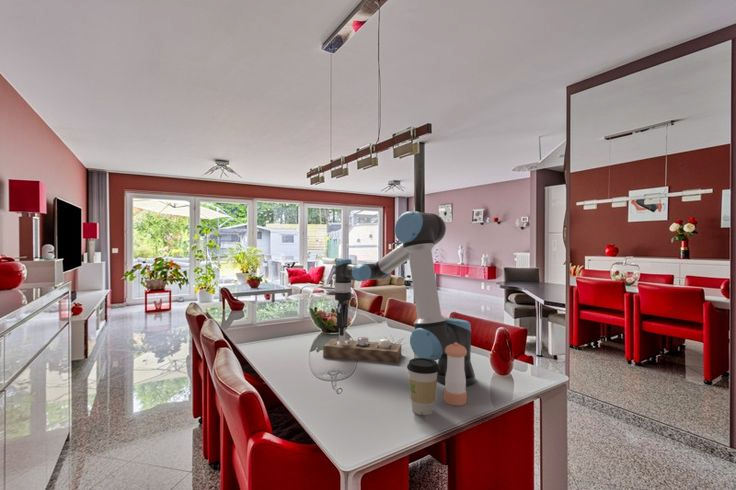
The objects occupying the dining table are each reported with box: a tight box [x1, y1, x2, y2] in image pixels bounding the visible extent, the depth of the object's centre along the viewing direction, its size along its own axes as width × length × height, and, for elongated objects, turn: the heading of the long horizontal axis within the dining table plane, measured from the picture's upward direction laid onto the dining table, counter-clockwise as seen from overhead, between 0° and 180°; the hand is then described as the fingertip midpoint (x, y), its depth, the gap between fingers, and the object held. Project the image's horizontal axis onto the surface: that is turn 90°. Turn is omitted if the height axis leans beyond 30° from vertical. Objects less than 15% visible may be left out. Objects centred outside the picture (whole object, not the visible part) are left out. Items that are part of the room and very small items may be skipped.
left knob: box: [337, 341, 348, 346], centre depth 168 cm, size 5×5×5 cm
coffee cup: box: [406, 357, 439, 416], centre depth 111 cm, size 10×10×15 cm
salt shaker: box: [443, 342, 468, 406], centre depth 118 cm, size 7×7×19 cm
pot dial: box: [357, 336, 369, 347], centre depth 166 cm, size 5×5×5 cm
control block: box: [322, 338, 402, 364], centre depth 166 cm, size 34×13×5 cm, turn 77°
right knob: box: [378, 338, 391, 349], centre depth 163 cm, size 5×5×5 cm
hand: (342, 341), depth 168 cm, fingers closed
